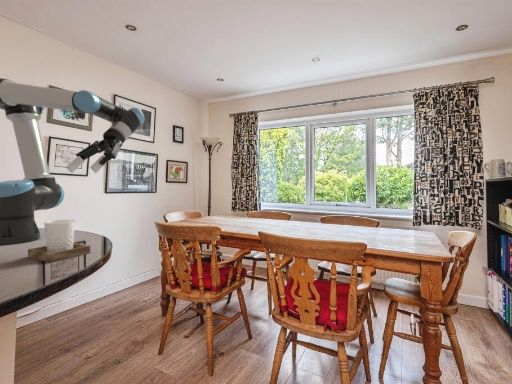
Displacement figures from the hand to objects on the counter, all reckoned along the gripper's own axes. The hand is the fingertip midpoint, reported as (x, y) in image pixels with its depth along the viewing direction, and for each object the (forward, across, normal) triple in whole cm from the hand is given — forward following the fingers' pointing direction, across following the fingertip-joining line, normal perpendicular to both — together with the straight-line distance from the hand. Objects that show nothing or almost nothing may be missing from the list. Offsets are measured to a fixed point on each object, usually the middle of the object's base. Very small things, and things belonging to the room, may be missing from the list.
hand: (80, 170), depth 98 cm
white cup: (+27, -6, -12) cm, 30 cm away
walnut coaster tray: (+27, -6, -12) cm, 30 cm away
